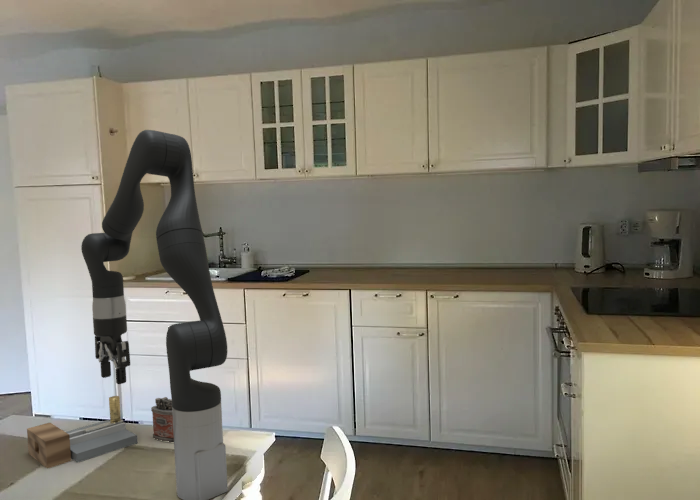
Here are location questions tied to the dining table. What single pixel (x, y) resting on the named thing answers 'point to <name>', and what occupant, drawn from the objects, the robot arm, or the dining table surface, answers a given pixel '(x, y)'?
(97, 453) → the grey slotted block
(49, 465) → the jamb keeper
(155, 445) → the dining table surface
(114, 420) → the bolt
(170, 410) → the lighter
